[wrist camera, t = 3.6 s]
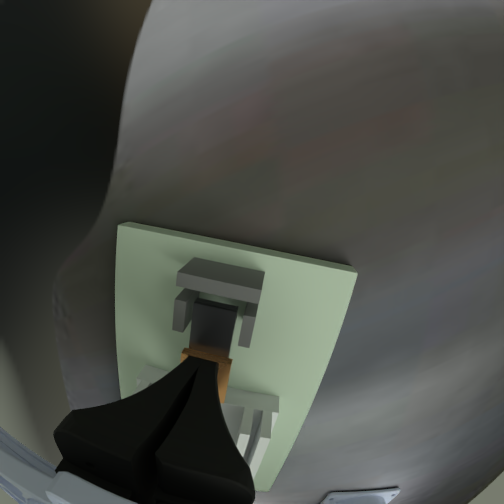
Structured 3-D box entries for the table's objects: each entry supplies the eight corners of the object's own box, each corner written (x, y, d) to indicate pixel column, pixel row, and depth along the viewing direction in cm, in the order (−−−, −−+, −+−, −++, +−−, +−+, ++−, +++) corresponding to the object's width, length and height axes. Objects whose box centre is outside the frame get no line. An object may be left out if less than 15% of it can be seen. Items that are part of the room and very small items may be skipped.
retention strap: (208, 488, 16) (205, 500, 15) (180, 481, 16) (176, 493, 15) (243, 306, 12) (239, 318, 11) (194, 295, 12) (185, 306, 11)
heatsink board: (269, 481, 19) (265, 523, 15) (135, 448, 20) (116, 484, 15) (352, 266, 14) (379, 300, 10) (129, 221, 15) (77, 237, 10)
